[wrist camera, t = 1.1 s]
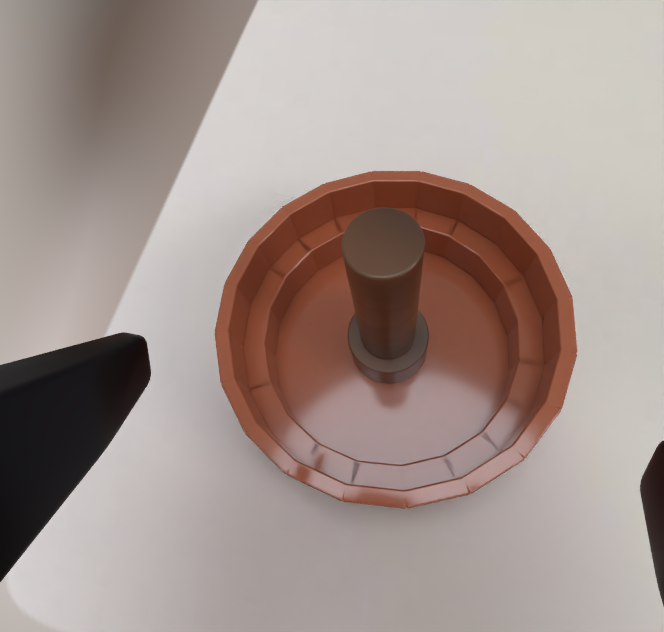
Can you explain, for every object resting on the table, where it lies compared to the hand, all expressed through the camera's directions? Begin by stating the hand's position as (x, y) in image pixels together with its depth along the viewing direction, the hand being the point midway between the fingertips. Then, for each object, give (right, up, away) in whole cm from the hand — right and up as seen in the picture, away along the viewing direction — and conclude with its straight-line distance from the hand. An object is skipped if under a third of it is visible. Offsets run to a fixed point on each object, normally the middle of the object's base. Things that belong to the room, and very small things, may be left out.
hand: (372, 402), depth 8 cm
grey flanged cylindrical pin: (+2, 0, +14) cm, 15 cm away
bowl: (+2, 0, +15) cm, 15 cm away
